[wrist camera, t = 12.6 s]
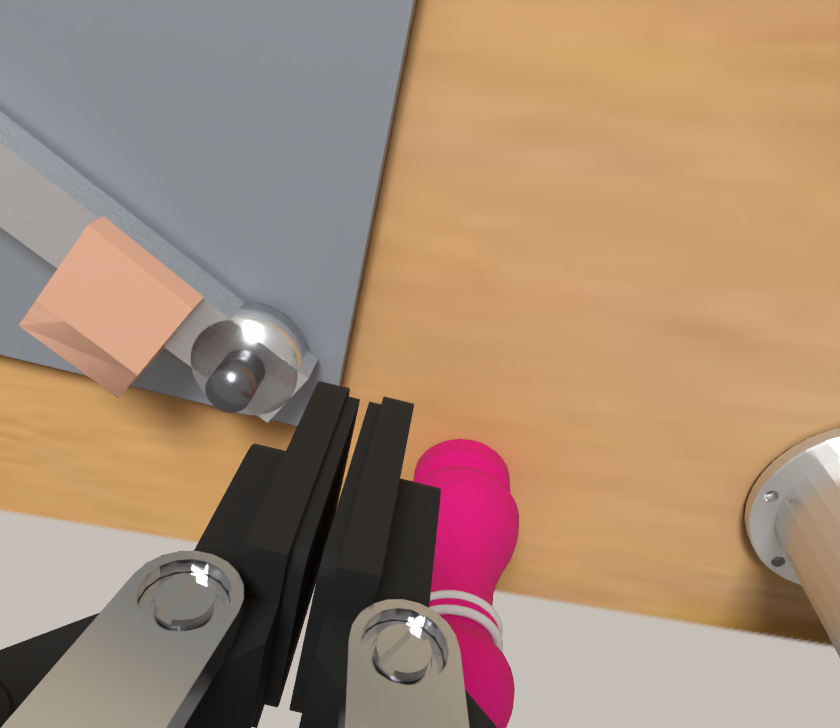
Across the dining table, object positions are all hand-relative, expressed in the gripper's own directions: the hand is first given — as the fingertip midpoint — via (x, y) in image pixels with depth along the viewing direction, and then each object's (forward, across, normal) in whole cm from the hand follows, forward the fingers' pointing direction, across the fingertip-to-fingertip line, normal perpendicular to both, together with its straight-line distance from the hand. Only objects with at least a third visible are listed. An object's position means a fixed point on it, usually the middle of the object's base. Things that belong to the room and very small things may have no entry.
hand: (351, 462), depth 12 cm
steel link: (+25, +16, +9) cm, 31 cm away
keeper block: (+27, +15, +10) cm, 32 cm away
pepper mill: (+27, -6, +20) cm, 34 cm away
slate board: (+27, +16, +4) cm, 32 cm away
